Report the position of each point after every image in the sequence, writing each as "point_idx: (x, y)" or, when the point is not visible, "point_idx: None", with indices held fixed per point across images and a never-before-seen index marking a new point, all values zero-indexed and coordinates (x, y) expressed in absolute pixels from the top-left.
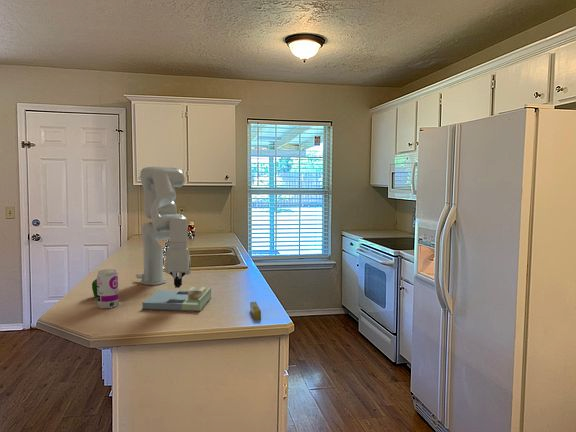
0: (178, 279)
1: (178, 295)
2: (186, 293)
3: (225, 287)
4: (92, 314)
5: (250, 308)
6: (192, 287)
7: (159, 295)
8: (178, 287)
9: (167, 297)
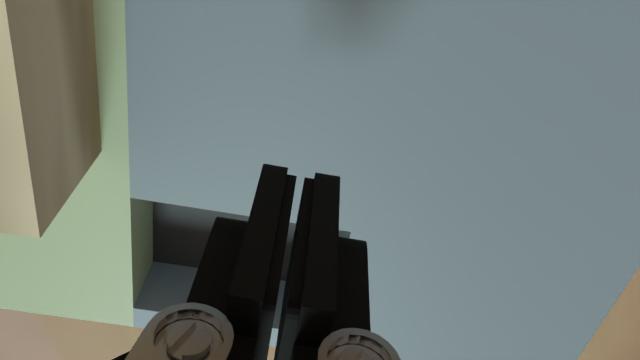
0: (234, 283)
1: (303, 178)
2: None
3: None
4: None
5: None
6: (14, 202)
7: (576, 193)
8: (265, 164)
9: (459, 90)
